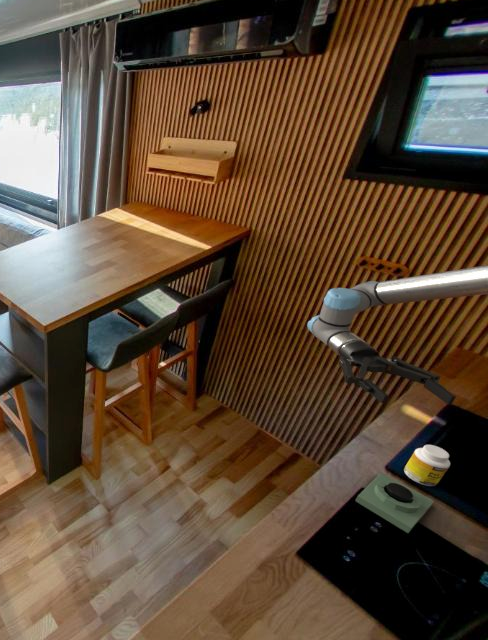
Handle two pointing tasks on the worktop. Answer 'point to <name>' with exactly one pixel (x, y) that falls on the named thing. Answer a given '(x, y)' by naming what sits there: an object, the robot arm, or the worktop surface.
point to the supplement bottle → (427, 465)
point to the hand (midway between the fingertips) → (418, 400)
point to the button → (399, 492)
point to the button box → (393, 503)
